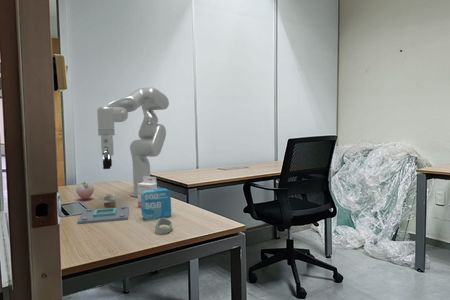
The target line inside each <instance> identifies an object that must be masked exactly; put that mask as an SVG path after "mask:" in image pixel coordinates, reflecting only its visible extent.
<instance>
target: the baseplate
mask: <svg viewBox="0 0 450 300" xmlns="http://www.w3.org/2000/svg"><path fill="white" fill-rule="evenodd" d="M82 211H83V212H82V213H81V215H80V216H79V218H78V220H77V223H76V224H77V225H83V224H92V223H104V222H116V221H117V222H119V221H127V220H129V211H130V206H129V205H128V206H126V205H121V206H119V207H116V206H115V208H104V207H102V208H86V209H84V210H82Z"/></svg>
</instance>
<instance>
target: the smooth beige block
mask: <svg viewBox="0 0 450 300" xmlns="http://www.w3.org/2000/svg"><path fill="white" fill-rule="evenodd" d="M116 202H117V201H116V194H115V193H108V194H106V193H105V194H104V195H103V208H115V207H116Z"/></svg>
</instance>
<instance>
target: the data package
mask: <svg viewBox="0 0 450 300" xmlns="http://www.w3.org/2000/svg"><path fill="white" fill-rule="evenodd" d="M140 208H141V209H140V210H141V217H142V218H143V219H144V220H146V221H148V220H156V219H157V220H158V219H159V218H160V219H167V218H170V217H171V214H172V199H171V191H170V190H169V189H168V188H165V187H164V188H159V189H153V190H144V191H142V192H141V207H140Z"/></svg>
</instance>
